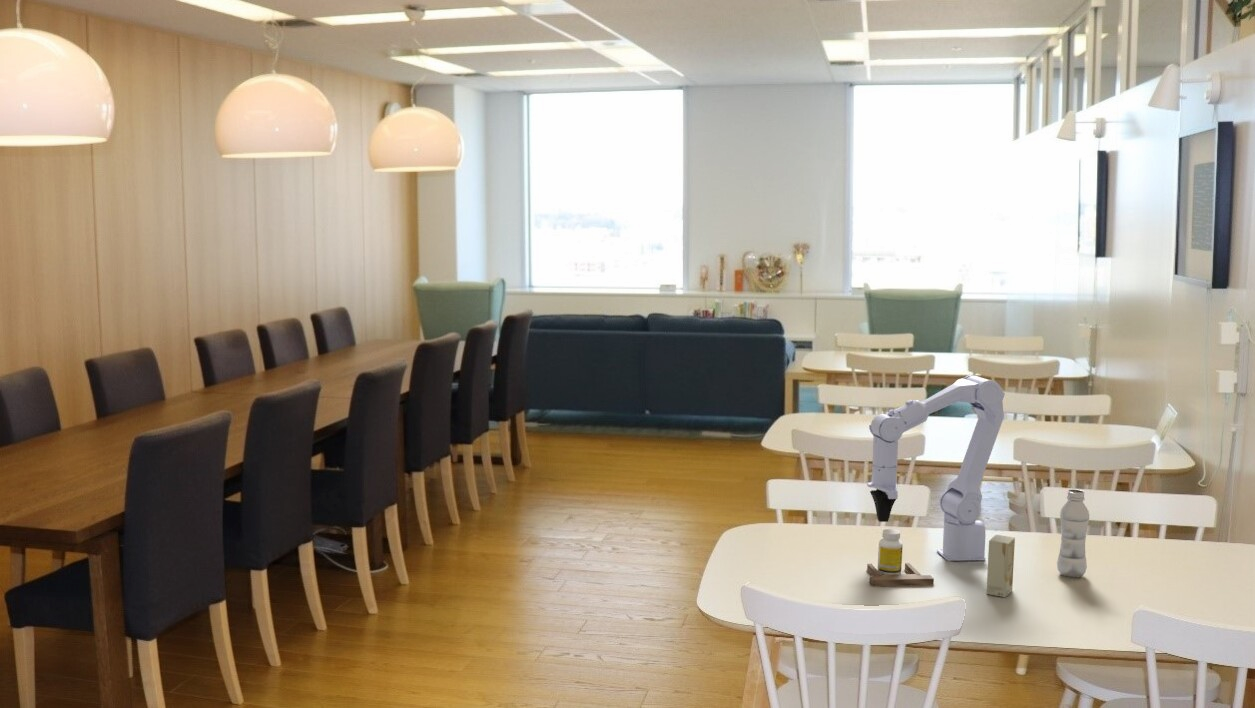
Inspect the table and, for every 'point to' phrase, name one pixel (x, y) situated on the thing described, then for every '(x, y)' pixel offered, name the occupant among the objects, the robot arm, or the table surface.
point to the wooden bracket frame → (899, 577)
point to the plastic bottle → (1073, 535)
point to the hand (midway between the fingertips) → (883, 521)
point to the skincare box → (1000, 565)
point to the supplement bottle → (890, 553)
